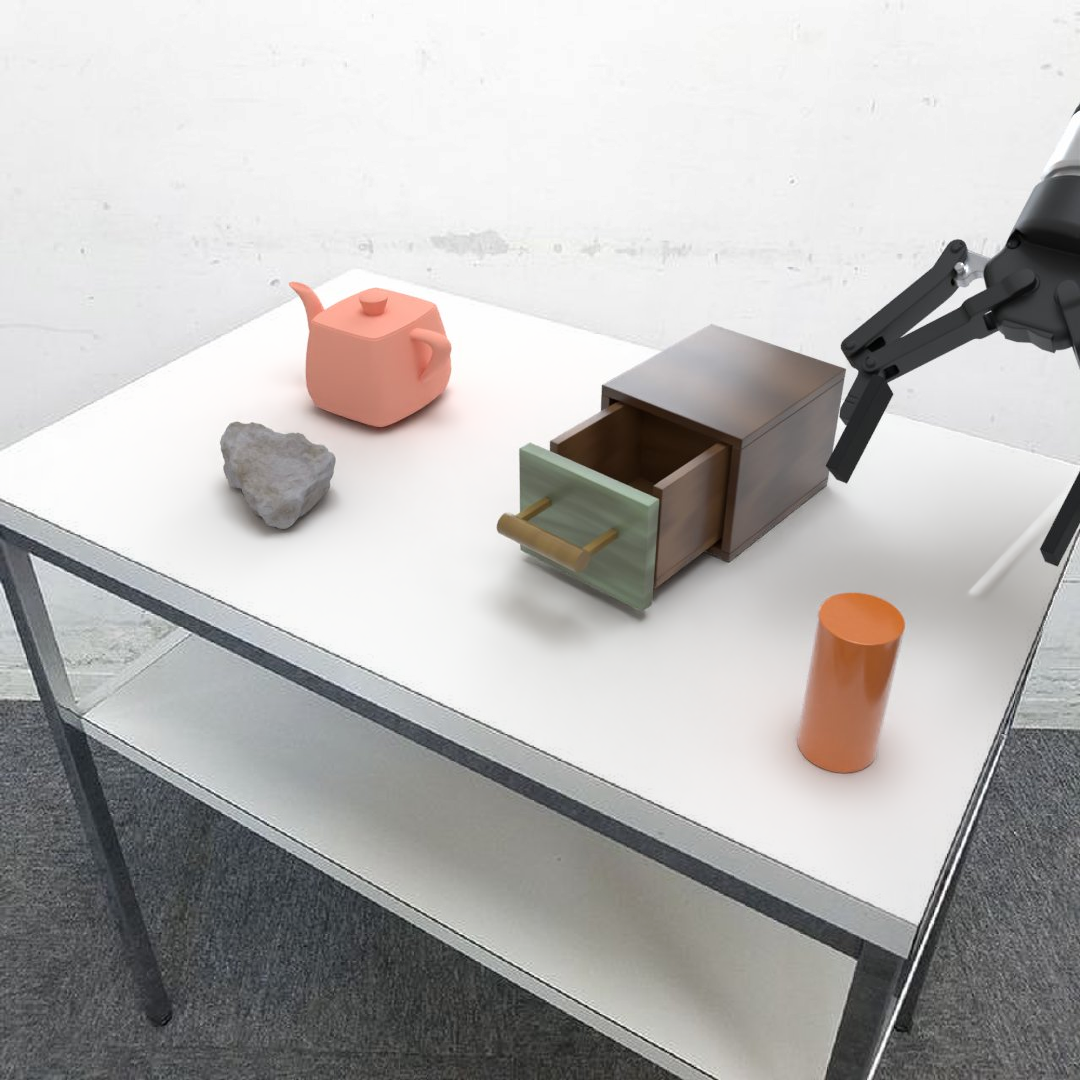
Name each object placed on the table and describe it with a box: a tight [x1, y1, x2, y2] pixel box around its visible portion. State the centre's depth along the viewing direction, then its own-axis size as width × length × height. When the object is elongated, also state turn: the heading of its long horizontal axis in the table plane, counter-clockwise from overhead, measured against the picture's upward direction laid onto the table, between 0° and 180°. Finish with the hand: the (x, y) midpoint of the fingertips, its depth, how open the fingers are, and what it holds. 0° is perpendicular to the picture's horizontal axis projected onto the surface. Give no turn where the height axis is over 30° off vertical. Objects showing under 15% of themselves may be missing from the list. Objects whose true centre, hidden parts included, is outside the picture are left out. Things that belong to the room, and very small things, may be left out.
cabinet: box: [600, 323, 847, 563], centre depth 94 cm, size 15×13×11 cm
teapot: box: [288, 281, 452, 428], centre depth 107 cm, size 12×18×10 cm, turn 57°
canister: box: [796, 592, 906, 774], centre depth 70 cm, size 5×5×10 cm
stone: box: [219, 421, 337, 530], centre depth 94 cm, size 10×8×6 cm
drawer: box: [496, 401, 732, 613], centre depth 86 cm, size 18×11×9 cm, turn 139°
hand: (936, 515), depth 71 cm, fingers open, 13 cm apart
